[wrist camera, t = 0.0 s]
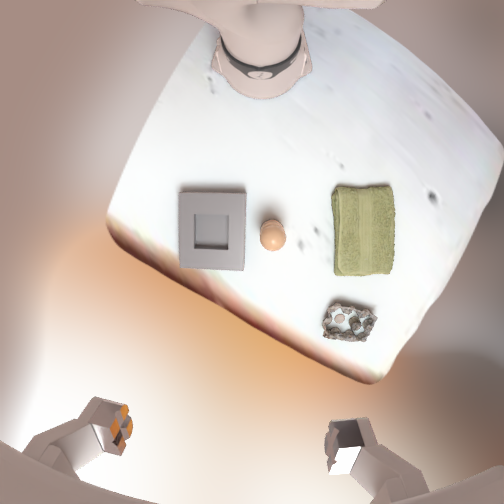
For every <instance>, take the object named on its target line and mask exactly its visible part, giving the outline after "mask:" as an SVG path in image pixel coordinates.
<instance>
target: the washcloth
mask: <svg viewBox="0 0 504 504" xmlns="http://www.w3.org/2000/svg"><path fill="white" fill-rule="evenodd" d="M393 197H394V196H393V191H392V189H391V187H390V186H384V187H375V188H374V187H369V188H367V189H356V188H349V187H337V188H335V192H334V194H333V195H332V197H331V199H332V209H333V215H334V226H335V227H334V229H335V238H336V239H335V244H336V245H335V246H336V247H335V249H336V251H335V253H336V254H335V268H334V269H335V270H334V273H335V275H336V276H366V275H371V274H390V271H391V270H392V266H393V261H394V259H393V258H394V252H395V251H394V245H395V244H394V237H395V234H394V232H395V231H394V229H395V221H394V217H395V212H394V211H395V208H394V198H393Z"/></svg>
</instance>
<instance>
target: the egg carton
mask: <svg viewBox="0 0 504 504" xmlns="http://www.w3.org/2000/svg"><path fill="white" fill-rule="evenodd" d="M338 308H341V310H342V311H343V313H345V314H348V315H349V314H350V313H352V310H354V311H355V312H356V313H357V315H358V316H359V317H360V318H364V317H365V316H367V315H369V317H370V318H369V319H367V320H365V321H364V322H363V323H362V325H361V322H360V320H359V319H358V318H357V317H352V318H350V320H349V325H350V327H351V329H352V330H358V329H360V327H361V326H363V328H364V330H365V331H364V332H363V333H359V334H358V335H357V336H355V335H354V333H353V332H352V331H351V330H347V331H345V332H344V333H341V332H340V330H339V329H338V328H332V329H331V330H330V331H328V330H326V326H325V325H327V324H330V323H331V322H332V316H331V314H330V312H334V311H335V310H337V309H338ZM327 311H328V314H329V315H328V317H329V318H326V319H325V320H323V323H322V326H323V328H324V333H323V336H324V337H325V338H328V339H335V340H336V339H339V340H345V341H349V342H354V341H362V342H366V338H367V336H369V334H370V332H371V330H372V328H373V327H374V323H375V322H376V320H377V317H376V316H375V315H373V314H371V313H370V311H369V310H368V309H364V310H363V311H360V310H356V308H355V307H354V306H349V307H342V306H341V305H340V303H337V302H336V303H335V304H334V305H333V306H329V307H328V309H327ZM344 320H345V316H344V315H343V314H338V315H336V316H335V322H336V323H342V322H343V321H344Z"/></svg>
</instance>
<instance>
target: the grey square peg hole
mask: <svg viewBox="0 0 504 504" xmlns="http://www.w3.org/2000/svg"><path fill="white" fill-rule="evenodd" d="M245 225H246V193H229V192H180V193H179V256H180V268H195V269H215V270H235V271H243V270H244V259H245Z"/></svg>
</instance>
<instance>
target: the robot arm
mask: <svg viewBox="0 0 504 504" xmlns="http://www.w3.org/2000/svg"><path fill="white" fill-rule="evenodd" d="M135 1H136V2H138V3H140V4H141V5H144V6H153V7H162V8H168V9H173V10H177V11H181V12H184V13H187V14H190V15H192V16H195V17H197V18H199V19H201V20H204V21H205V22H207V23H209V24H211V25H212V26H214V27H215V28H217V29H218V30H219V32H220V34H221V35H220V38H218V39H217V47H216V50H215V54H214V57H213V60H212V64H211V65H212V69H213V70H214V71H216V72H217V73H219V74H221V75H222V76H224V77H225V79H226V80H227V81H228V83H229V84H230V85H231V87H232V88H233V89H235V90H236V91H237V92H239V93H240V94H242V95H244V96H247V97H250V98H254V99H270V98H274V97H278V96H280V95H282V94H284V93H286V92H287V91H288V90H290V89H291V88H292V87H293V85H294V84H295V83H296V82H297V81H298V79H300V78H301V77H304V76H306V75H307V74H309V73H310V72H311V71H312V64H311V59H310V55H309V51H308V47H307V43H306V39H305V35H304V31H303V23H304V11H303V8H302V6H311V7H319V8H327V9H374V8H376V7H378V6H380V5H381V4H383V3H384V2H385V1H387V0H135ZM217 60H218V61H217ZM305 62H307V63H306V64H305ZM128 412H129V409H128V406H127V405H125V404H122V403H118V402H114V401H110V400H106V399H102V398H99V397H93V398H92V399H91V400H90V402H89V403H88V405H87V406H86V408H85V409H84V411H83V412H82V413H81V415H80V416H79V418H78V419H73V420H71V421H68V422H66V423H64V424H62V425H59V426H57V427H55V428H52V429H50V430H47V431H45V432H43V433H40V434H38V435H36V436H34V437H33V438H32V440H31V441H30V442H29V444H28V445H27V447H26V448H25V449H24V451H23V452H22V453H21V452H19V451H17V450H16V449H14V448H11V447H10V446H9V445H7V444H5V443H4V442H2V441H0V504H157V503H153V502H149V501H145V500H141V499H136V498H133V497H129V496H125V495H122V494H119V493H116V492H112V491H109V490H106V489H103V488H100V487H97V486H94V485H92V484H89V483H86V482H84V481H81V480H80V479H79V477H78V476H77V474H76V473H75V471H76V470H78V469H79V468H81V467H82V466H84V465H86V464H87V463H89V462H90V461H92V460H93V459H94V458H96V457H97V456H99V455H100V454H102V453H103V451H104V452H108V453H111V454H115V455H119V456H121V455H122V453H123V451H124V449H125V447H126V443H125V440H127V439H128V438H130V436H131V434H132V429H133V424H132V419H131V417H130V416H129V415H128ZM328 427H329V432H328V433H326V437H325V445H324V446H325V453H326V455H327V456H328V457H329V458H328V461H327V465H328V471H329V474H341V473H350V475H351V476H352V477H353V478H354V479H355V480H357V482H358V483H359V484H360V485H361V486H362V487H363V488H364V489H365V490H366V491H368V493H369V494H371V495H372V496H373V497H374V499H373V500H372V502H371V503H370V504H504V466H495V467H492V468H490V469H488V470H486V471H484V472H481V473H480V474H477V475H475V476H472V477H470V478H468V479H465V480H462V481H460V482H458V483H455V484H452V485H449V486H447V487H444V488H441V489H438V490H435V491H432V492H430V491H429V489H428V487H427V484H426V482H425V479H424V477H423V474H422V472H421V470H419V469H417V468H416V467H414V466H413V465H411V464H410V463H408V462H407V461H405V460H404V459H402V458H401V457H399V456H398V455H396V454H395V453H393V452H392V451H390V450H389V449H388V448H386V447H385V446H383V445H382V444H381V445H378V443H377V440H376V437H375V435H374V432H373V429H372V427H371V424H370V421H369V419H368V418H367V417H363V418H351V419H340V420H331V421H330V423H329V426H328Z"/></svg>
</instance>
